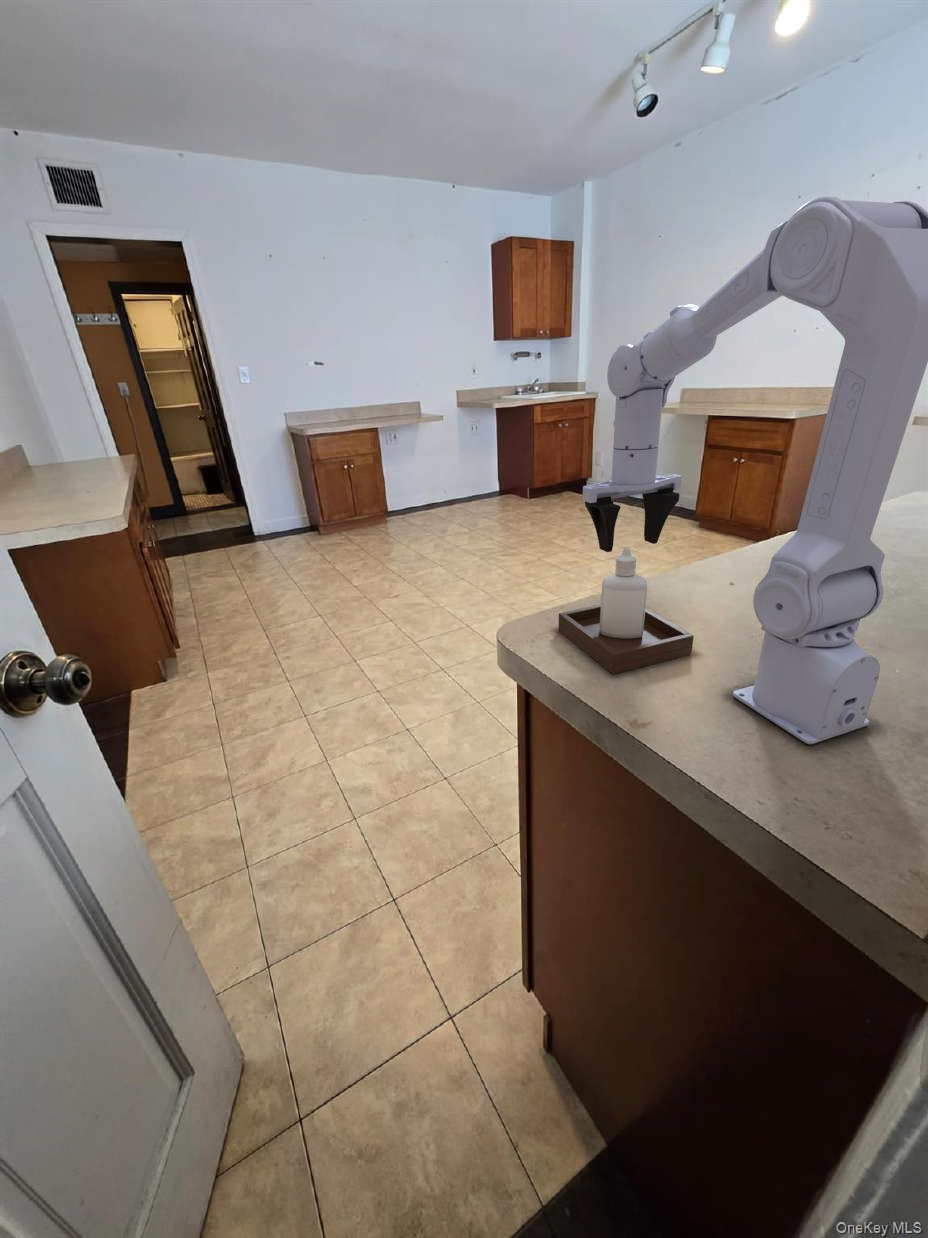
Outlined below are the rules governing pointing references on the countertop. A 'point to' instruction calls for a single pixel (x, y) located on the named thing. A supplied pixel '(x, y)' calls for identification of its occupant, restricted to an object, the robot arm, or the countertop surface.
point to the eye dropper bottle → (623, 600)
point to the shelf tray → (625, 640)
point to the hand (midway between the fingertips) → (628, 546)
